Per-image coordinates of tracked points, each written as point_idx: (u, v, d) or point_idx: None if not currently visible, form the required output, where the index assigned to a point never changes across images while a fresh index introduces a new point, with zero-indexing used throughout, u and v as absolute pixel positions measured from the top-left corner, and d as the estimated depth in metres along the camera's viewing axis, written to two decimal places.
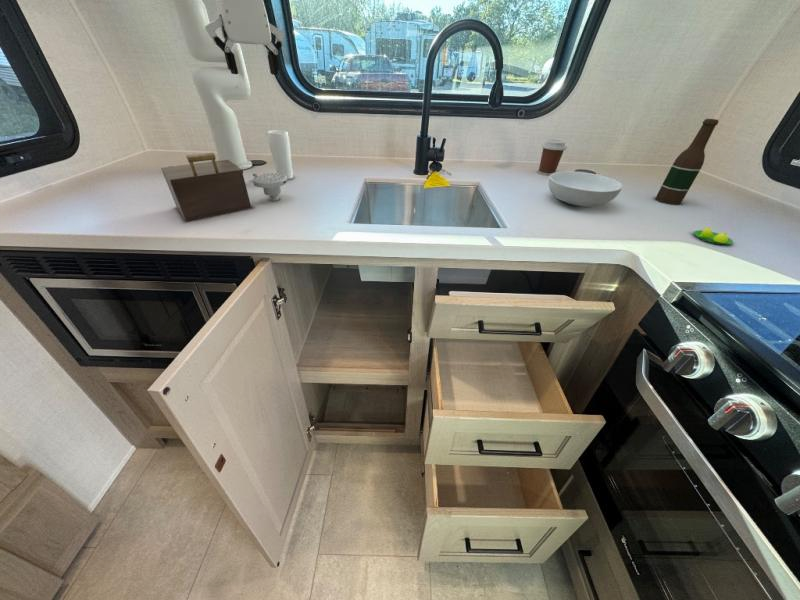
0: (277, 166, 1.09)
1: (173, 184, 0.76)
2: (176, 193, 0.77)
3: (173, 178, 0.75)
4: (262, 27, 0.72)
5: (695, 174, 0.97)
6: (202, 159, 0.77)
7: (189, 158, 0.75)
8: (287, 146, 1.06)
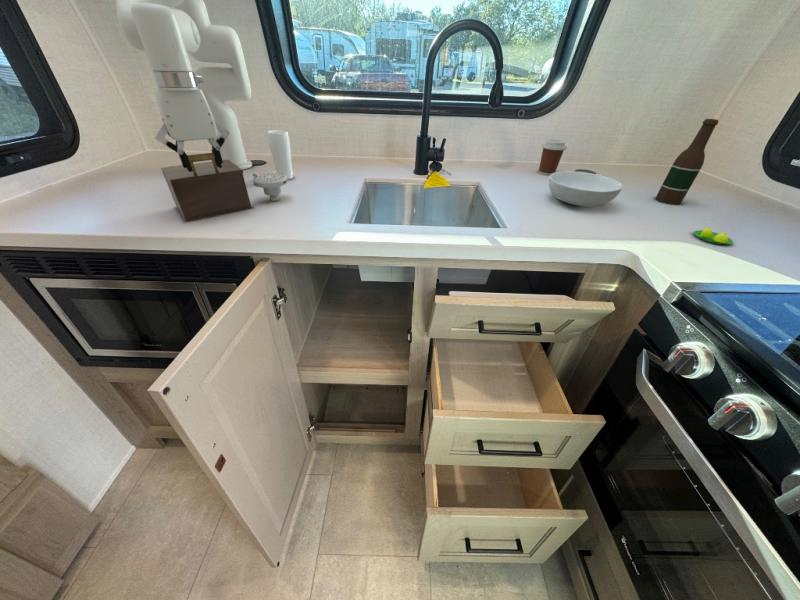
0: (277, 166, 1.09)
1: (173, 184, 0.76)
2: (176, 193, 0.77)
3: (173, 178, 0.75)
4: (207, 124, 0.73)
5: (695, 174, 0.97)
6: (202, 159, 0.77)
7: (189, 158, 0.75)
8: (287, 146, 1.06)
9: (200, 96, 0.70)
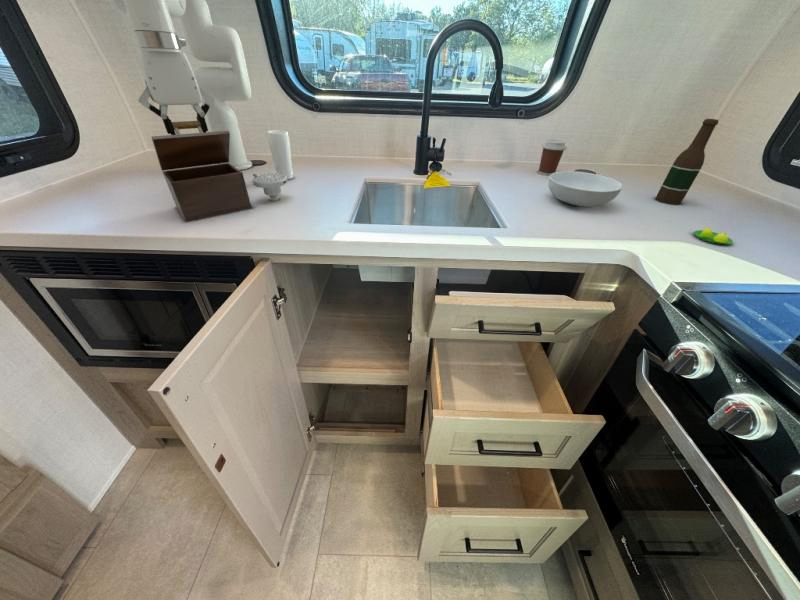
0: (277, 166, 1.09)
1: (173, 184, 0.76)
2: (176, 193, 0.77)
3: None
4: (190, 89, 0.73)
5: (695, 174, 0.97)
6: (186, 124, 0.76)
7: (173, 122, 0.75)
8: (287, 146, 1.06)
9: (183, 59, 0.70)
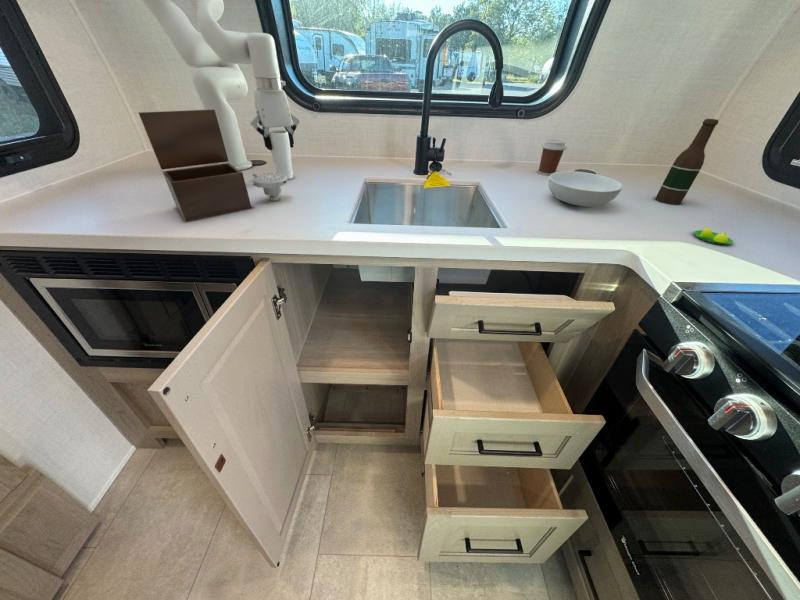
0: (277, 166, 1.09)
1: (173, 184, 0.76)
2: (176, 193, 0.77)
3: None
4: (286, 116, 1.02)
5: (695, 174, 0.97)
6: None
7: None
8: (287, 146, 1.06)
9: (284, 95, 0.99)
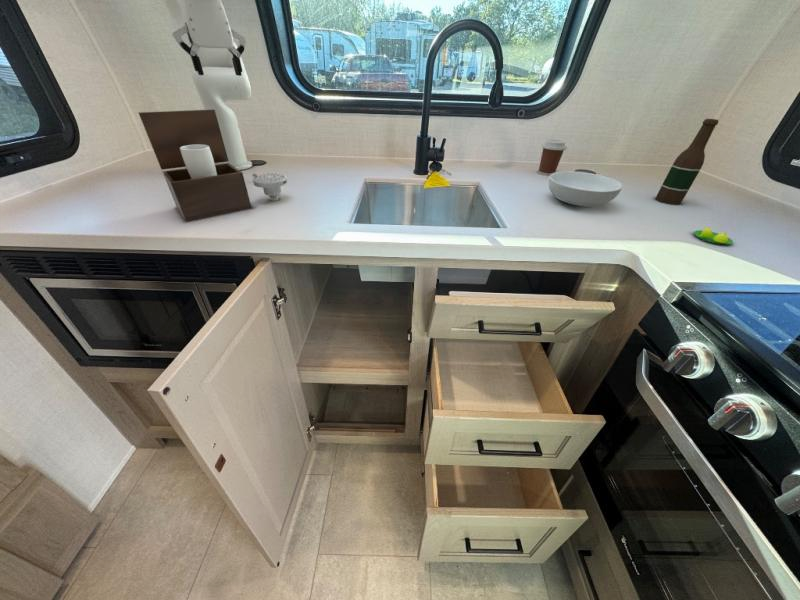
0: None
1: (173, 184, 0.76)
2: (176, 193, 0.77)
3: None
4: (224, 33, 0.81)
5: (695, 174, 0.97)
6: None
7: None
8: (209, 166, 0.81)
9: (219, 4, 0.78)
